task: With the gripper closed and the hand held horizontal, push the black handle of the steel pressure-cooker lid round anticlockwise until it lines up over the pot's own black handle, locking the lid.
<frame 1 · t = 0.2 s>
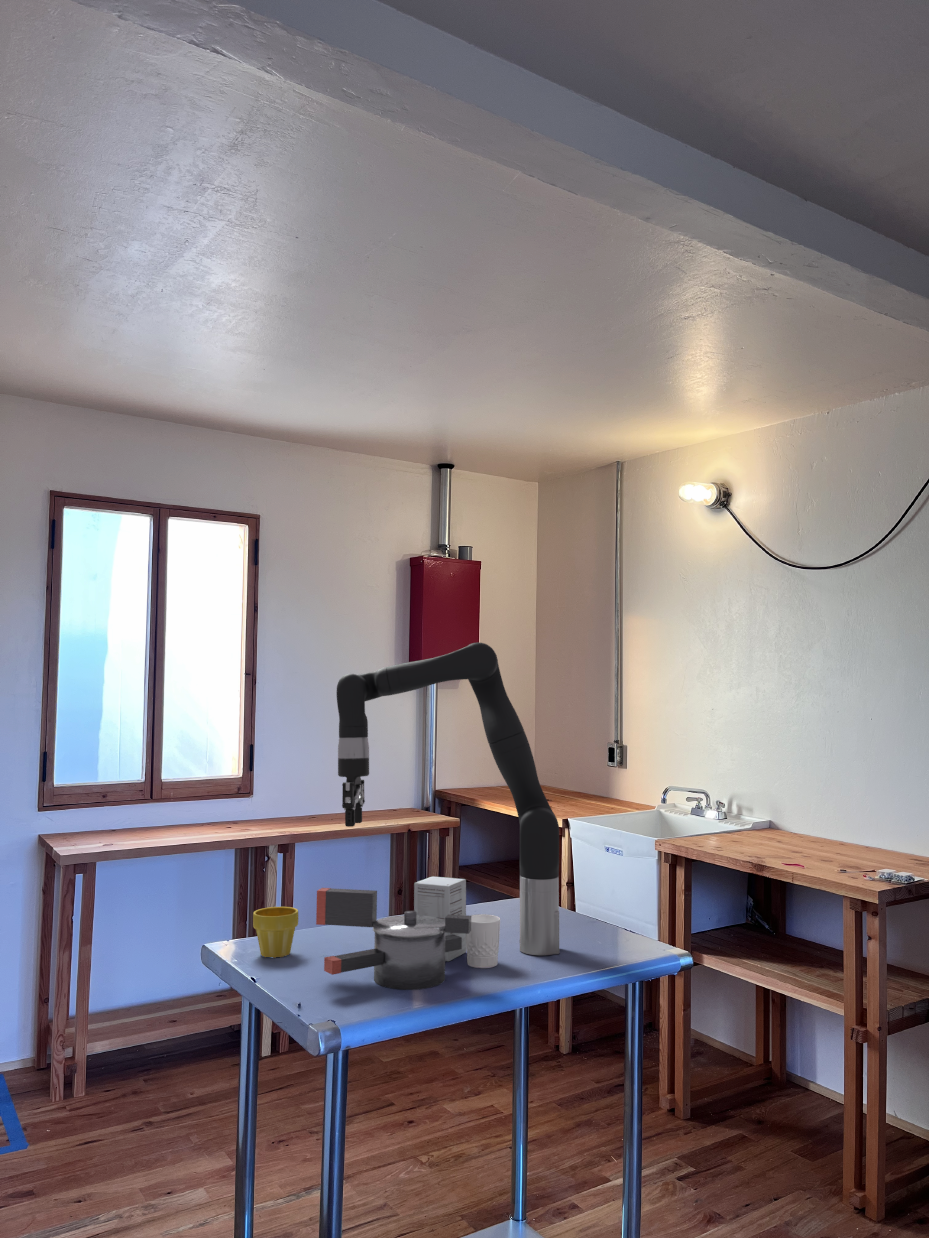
hand: (353, 824, 220), 29 cm above the table, tool pointing down, fingers open, 8 cm apart
pot: (409, 978, 193), on the table
plant pot: (274, 955, 211), on the table
white cup: (482, 965, 204), on the table
lid: (393, 910, 195), point 14 cm above the table, hinge at 0.0°
supplement box: (440, 955, 212), on the table
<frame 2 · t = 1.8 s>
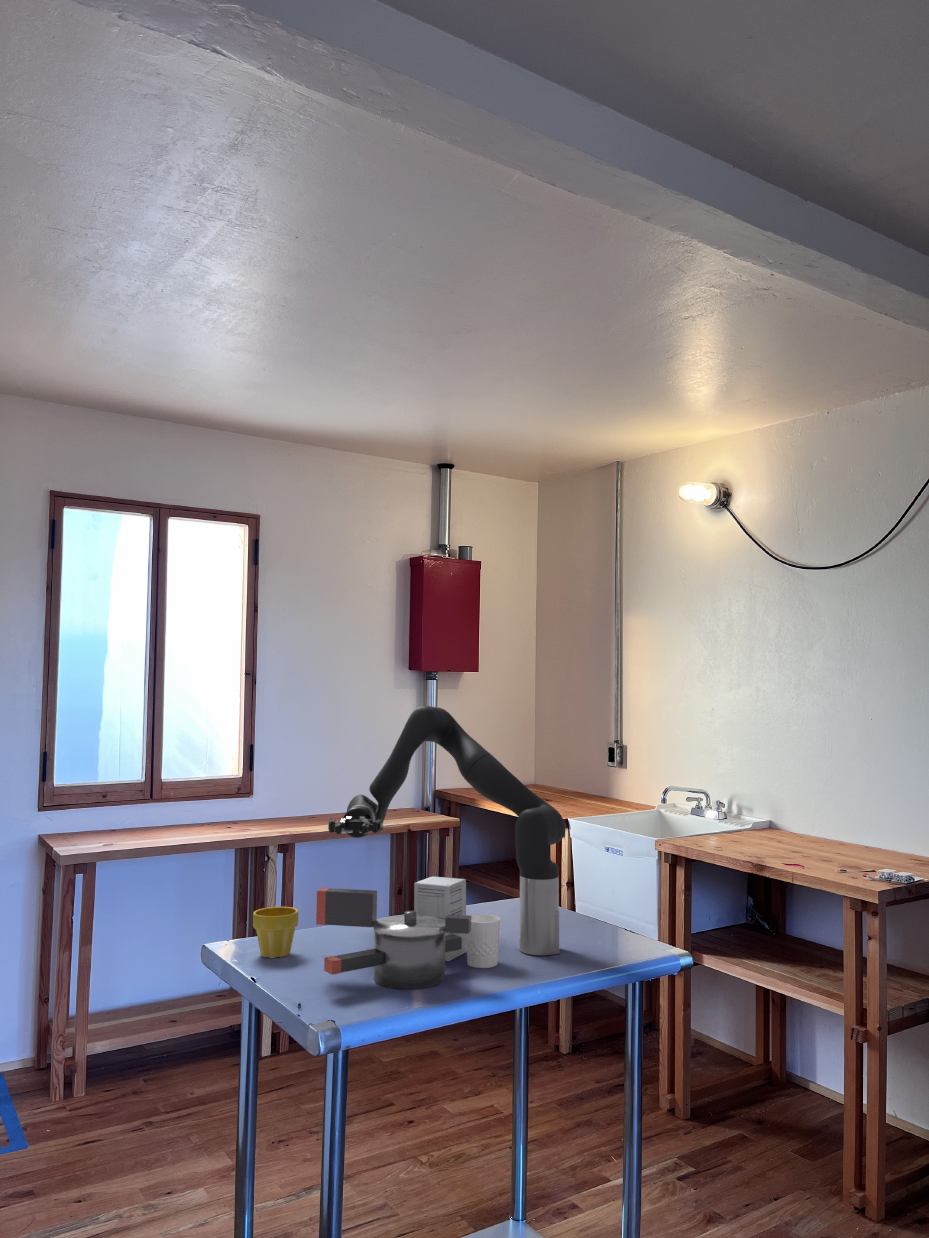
hand: (350, 829, 216), 28 cm above the table, tool horizontal, fingers open, 5 cm apart
nothing on the table moved.
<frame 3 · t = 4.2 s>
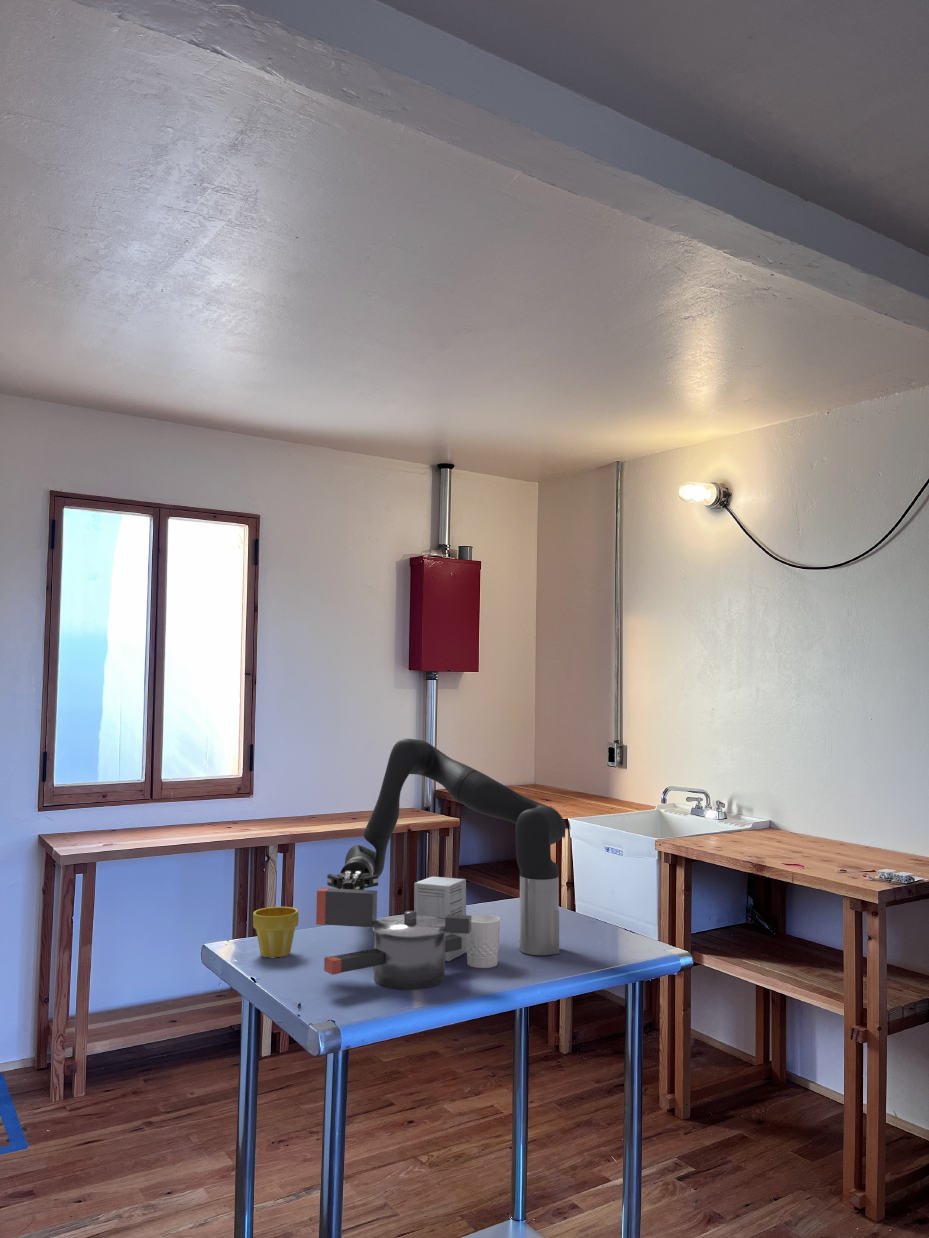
hand: (348, 887, 211), 15 cm above the table, tool horizontal, fingers closed
nothing on the table moved.
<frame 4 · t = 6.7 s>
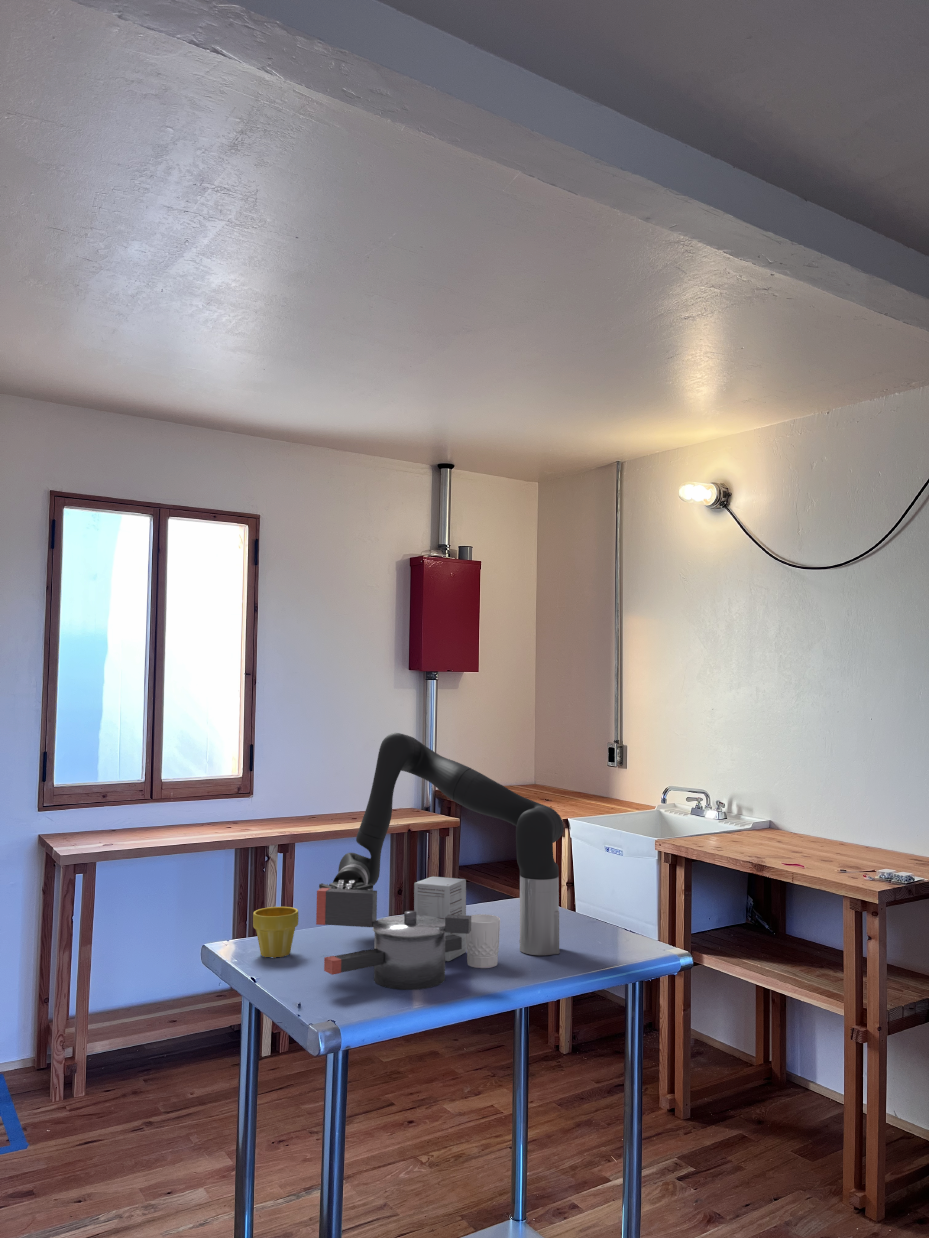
hand: (340, 898, 199), 16 cm above the table, tool horizontal, fingers closed
lid: (393, 910, 195), point 14 cm above the table, hinge at 0.0°, touching gripper
everything else where it was.
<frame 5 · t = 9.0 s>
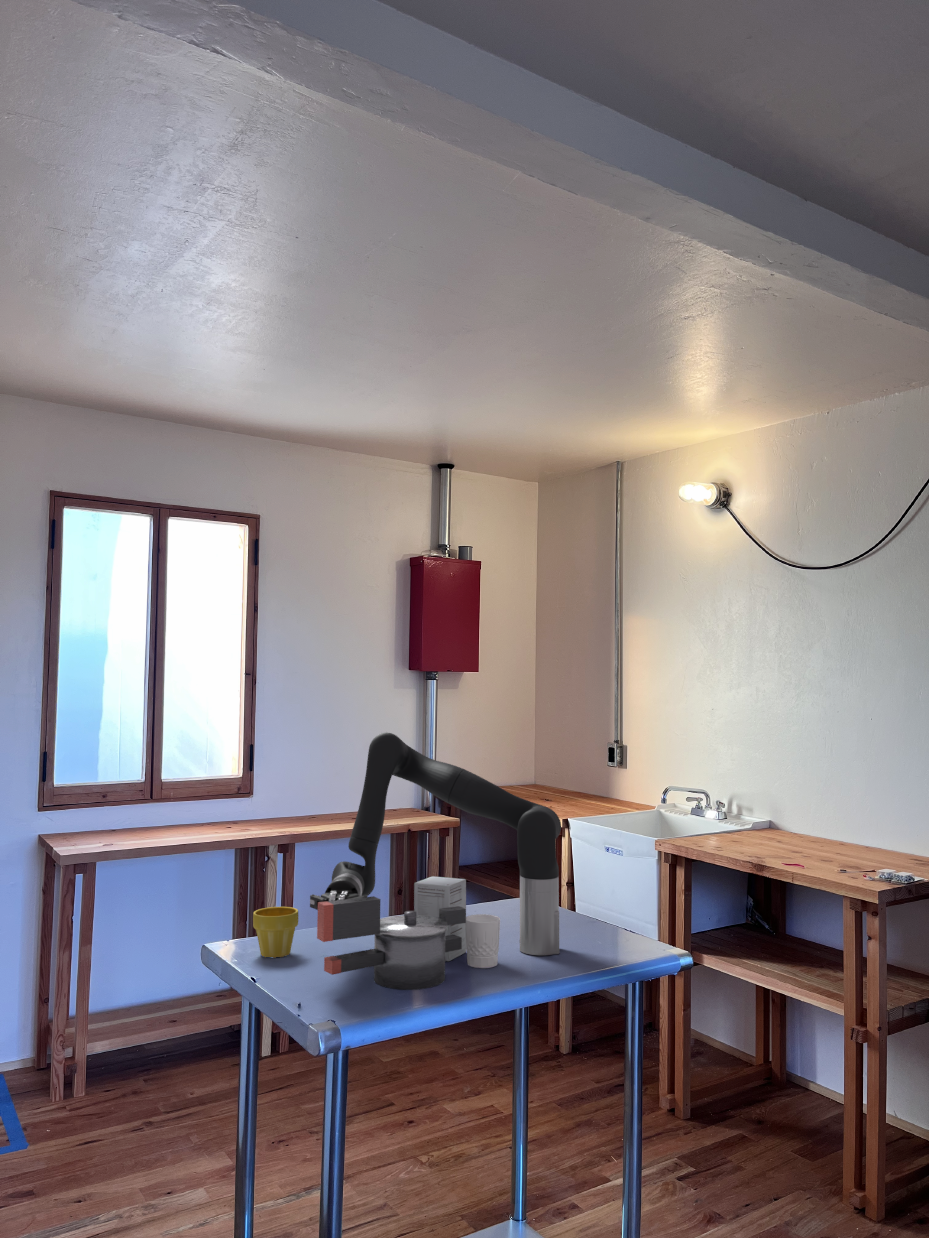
hand: (332, 910, 187), 15 cm above the table, tool horizontal, fingers closed
lid: (394, 913, 192), point 14 cm above the table, hinge at 42.2°, touching gripper
everything else where it was.
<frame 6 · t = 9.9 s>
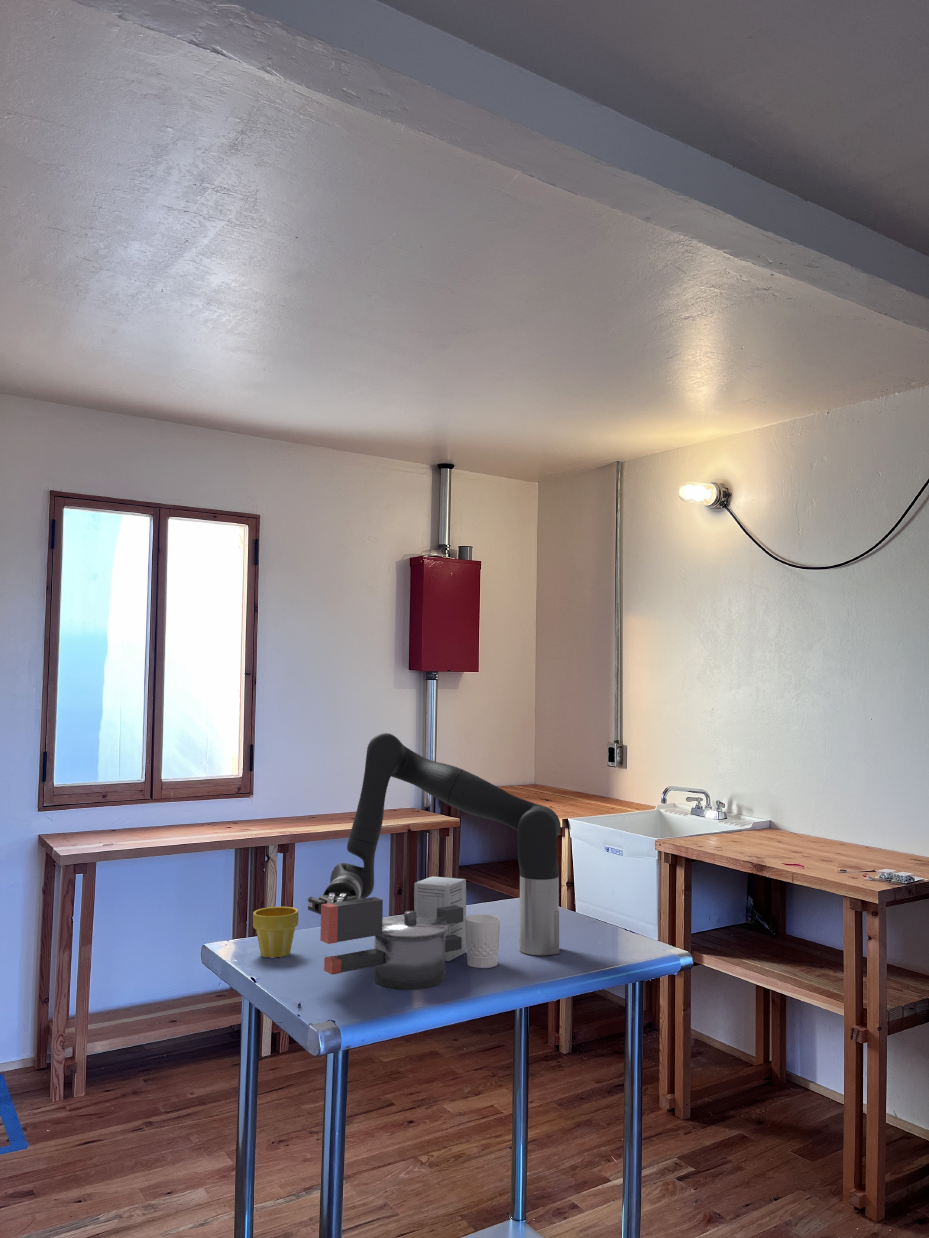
hand: (330, 913, 185), 15 cm above the table, tool horizontal, fingers closed
lid: (395, 913, 192), point 14 cm above the table, hinge at 47.5°, touching gripper
everything else where it was.
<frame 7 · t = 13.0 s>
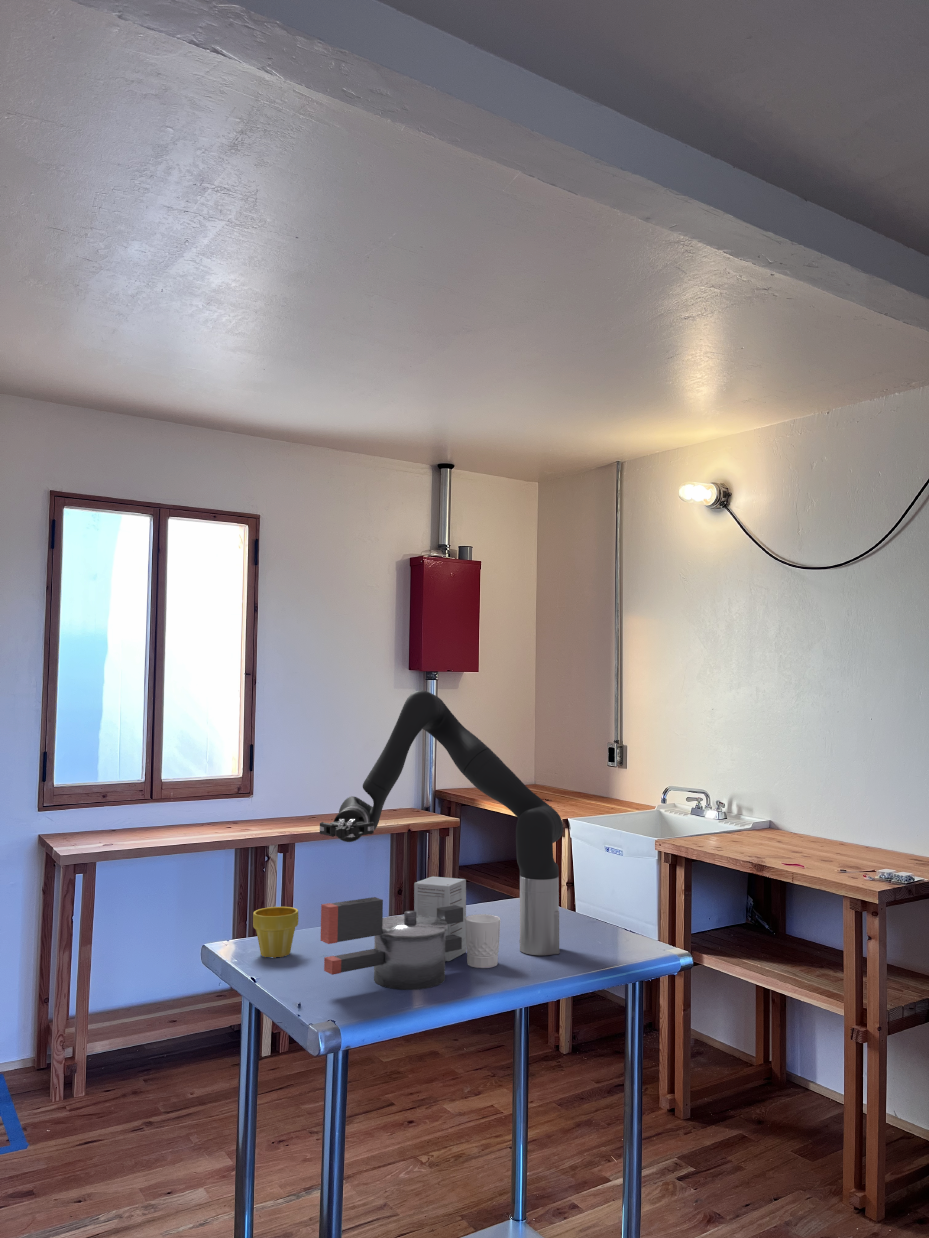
hand: (341, 833, 199), 30 cm above the table, tool horizontal, fingers closed
lid: (395, 913, 192), point 14 cm above the table, hinge at 47.7°
everything else where it was.
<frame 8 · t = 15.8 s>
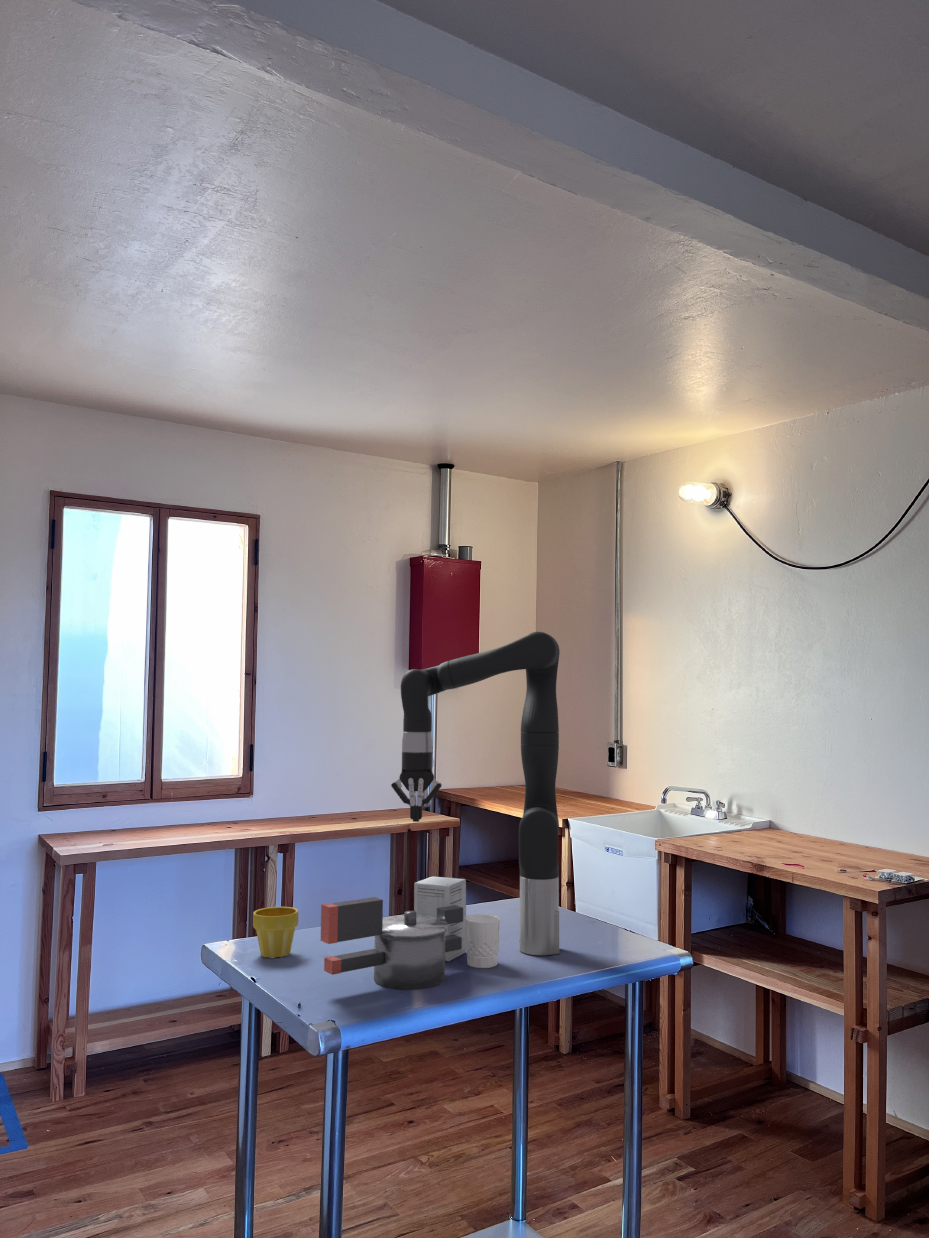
hand: (416, 821, 224), 29 cm above the table, tool pointing down, fingers closed
nothing on the table moved.
at the end: lid at +48° (first picture: +0°) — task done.
